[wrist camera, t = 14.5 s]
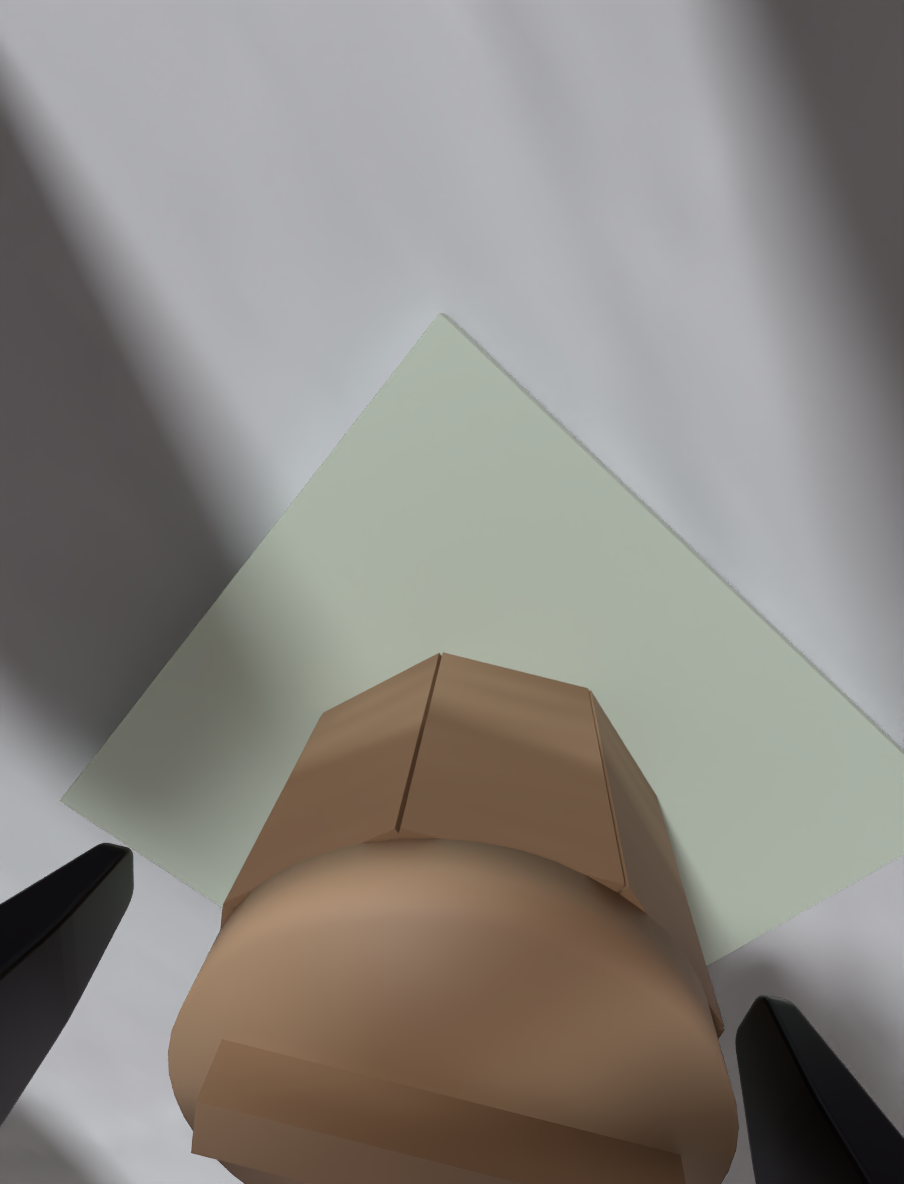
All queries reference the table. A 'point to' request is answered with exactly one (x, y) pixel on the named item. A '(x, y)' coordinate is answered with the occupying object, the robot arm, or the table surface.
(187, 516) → the table surface
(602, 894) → the cap
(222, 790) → the pale green flat slab
